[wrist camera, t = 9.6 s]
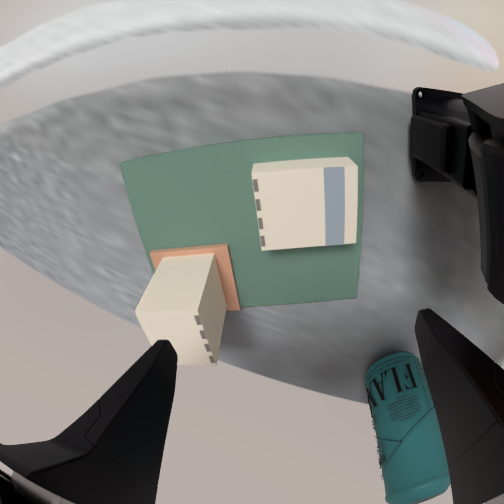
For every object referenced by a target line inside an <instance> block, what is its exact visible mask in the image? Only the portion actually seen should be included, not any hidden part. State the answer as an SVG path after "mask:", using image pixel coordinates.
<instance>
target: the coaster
mask: <svg viewBox="0 0 504 504" xmlns="http://www.w3.org/2000/svg"><path fill="white" fill-rule="evenodd" d="M210 253H214V254H215V258H216V262H217V267H218V271H219V275H220V280H221V284H222V288H223V292H224V296H225V300H226V305H227V308H226V311H238V310H240V308H241V306H240V302H239V297H238V292H237V287H236V282H235V277H234V272H233V267H232V262H231V257H230V251H229V246H228V244H217V245H206V246H195V247H184V248H173V249H162V250H151V252H150V256H151V259H152V262H153V265H154V268H155V271H156V269H157V268H158V266H159V264H160V262H161V260H162V258H163V257H175V256H187V255H198V254H210Z"/></svg>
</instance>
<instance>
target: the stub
mask: <svg viewBox="0 0 504 504" xmlns="http://www.w3.org/2000/svg"><path fill="white" fill-rule="evenodd" d="M226 308H227V305H226V300H225V296H224V292H223V288H222V284H221V280H220V275H219V271H218V267H217V262H216V258H215V254H214V253H210V254H198V255H187V256H175V257H163V258H162V260H161V262H160V264H159V266H158V268H157V269H156V271H155V273H154V275H153V277H152V279H151V281H150V283H149V285H148V286H147V288H146V290H145V292H144V294H143V296H142V298H141V300H140V302H139V304H138V306H137V308H136V310H135V314H136V316H137V318H138V320H139V322H140V324H141V326H142V328H143V330H144V332H145V334H146V336H147V338H148V340H149V342H150V344H151V346H152V345H153V344H154V343H155V342H156V341H157V340H162V339H167V340H169V341H170V342H171V344H172V346H173V347H174V349H175V351H176V353H177V356H178V361H177V365H217V360H218V354H219V348H220V342H221V336H222V331H223V325H224V319H225V314H226Z"/></svg>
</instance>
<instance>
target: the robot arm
mask: <svg viewBox="0 0 504 504" xmlns="http://www.w3.org/2000/svg"><path fill="white" fill-rule="evenodd" d="M420 91H421V93H422V97H421V98H420V97H419V95H418V94H419V92H420ZM411 154H412V155H413V168H412V175H413V177H414V178H415V179H416V180H417V181H420V182H428V181H445V182H454V183H455V184H457V185H458V186H460V187H461V188H463V189H464V190H465V191H467V192H468V193H469V194H471V195H472V196H474V197H475V198H476V199H478V208H479V221H480V242H481V270H482V273H483V275H484V278H485V281H486V282H487V284H488V286H487V288H488V291H489V292H490V293H491V294H492V295H493V296H494V297H495V298H496V299H497V300H498V301H500V302H501V303H503V304H504V83H503V84H499V85H495V86H491V87H488V88H484V89H480V90H477V91H473V92H469V93H466V94H462V93H456V92H450V91H444V90H436V89H429V88H421V87H417V88H415V89H414V90H413V116H412V117H411ZM419 171H421V175H420V176H418V172H419ZM415 334H416V338H417V343H418V347H419V352H420V357H421V361H422V366H423V370H424V374H425V377H426V380H427V383H428V387H429V390H430V394H431V397H432V401H433V404H434V408H435V412H436V415H437V419H438V423H439V427H440V431H441V436H442V440H443V445H444V449H445V454H446V459H447V464H448V466H449V467H448V470H449V476H450V482H451V488H452V496H453V504H483V503H485V504H504V370H503V369H502V368H501V367H500V366H499V365H498V364H497V363H494V361H493V360H492V359H491V358H490V357H488V356H487V355H486V354H485V353H484V352H483V351H481V350H480V349H479V348H478V347H477V346H476V345H474V344H473V343H472V342H471V341H470V340H468V339H467V338H466V337H465V336H464V335H462V334H461V333H460V332H459V331H457V330H456V329H455V328H454V327H453V326H451V325H450V324H449V323H448V322H446V321H445V320H444V319H443V318H441V317H440V316H439V315H438V314H436V313H435V312H434V311H432V310H431V309H429V308H427V309H422V310H419V312H418V314H417V319H416V324H415ZM177 361H178V356H177V353H176V351H175V349H174V347H173V346H172V344H171V342H170V341H169V340H167V339H162V340H157V341H156V342H155V343H154V344H153V345H152V346H151V347H150V348H149V349H148V350H147V351H146V352H145V353H144V354H143V355H142V356H141V357H140V358H139V359H138V361H136V362H135V363H134V364H133V365H132V366H131V367H130V368H129V369H128V371H126V372H125V373H124V374H123V375H122V376H121V377H120V378H119V379H118V380H117V381H116V382H115V383H114V385H112V386H111V387H110V388H109V389H108V390H107V391H106V393H104V395H102V396H101V397H100V399H99V400H97V401H96V403H94V404H93V405H92V406H91V407H90V408H89V409H88V410H87V411H86V412H85V413H84V414H83V415H82V416H81V417H79V418H78V419H77V420H76V421H75V422H74V423H72V424H71V425H70V426H69V427H68V428H66V429H65V430H64V431H63V432H62V433H60V434H59V435H58V436H56V437H55V438H53V439H51V440H48V441H43V442H35V443H27V444H18V445H3V444H1V443H0V461H1V462H2V463H4V464H5V465H6V466H8V467H9V468H11V469H12V470H13V474H12V476H10V475H9V474H7V473H5V472H4V471H2V470H1V469H0V504H155V501H156V494H157V488H158V486H157V485H158V480H159V474H160V468H161V462H162V456H163V450H164V445H165V439H166V434H167V429H168V424H169V419H170V413H171V408H172V403H173V398H174V392H175V383H176V371H177Z"/></svg>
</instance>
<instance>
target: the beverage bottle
mask: <svg viewBox="0 0 504 504" xmlns="http://www.w3.org/2000/svg"><path fill="white" fill-rule="evenodd" d="M419 360H420V359H419V358H417V357H416V356H415V355H414V354H412V353H409V352H399V353H394V354H391V355H388V356H386V357H384V358H382V359H380V360H379V361H377V362H376V363H375V364H373V365H372V366H371V367H370V368H369V370H368V371H367V374H366V379H365V380H366V385H365V386H367V388H365V389H366V391H367V393H368V395H369V396H368V395H367V396H368V397H367V398H368V403H369V405H370V410H371V415H373V416H372V418H373V420H374V424H373V425H374V426H375V428H374V427H373V428H374V429H375V430H376V436H377V437H376V438H377V442H378V446H377V447H378V448H379V450H378V451H379V453H380V454H379V455H380V459H379V463H380V464H381V466H382V473H383V475H382V476H383V479H384V483H385V492H386V497H385V499H386V502H387V503H389V504H418V503H421V502H424V501H427V500H429V499H432V498H434V497H436V496H438V495H440V494H442V493H444V492H445V491H446V490H447V489H448V487H449V486H450V484H451V482H450V476H449V470H448V467H449V466H448V464H447V459H446V454H445V449H444V445H443V440H442V436H441V431H440V427H439V423H438V419H437V415H436V412H435V408H434V404H433V401H432V397H431V394H430V390H429V387H428V383H427V380H426V377H425V374H424V372H423V368H422V366H421V365H422V364H421V363H420V361H421V360H420V361H419ZM369 400H370V401H369ZM380 461H381V462H380ZM380 468H381V467H380Z"/></svg>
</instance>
